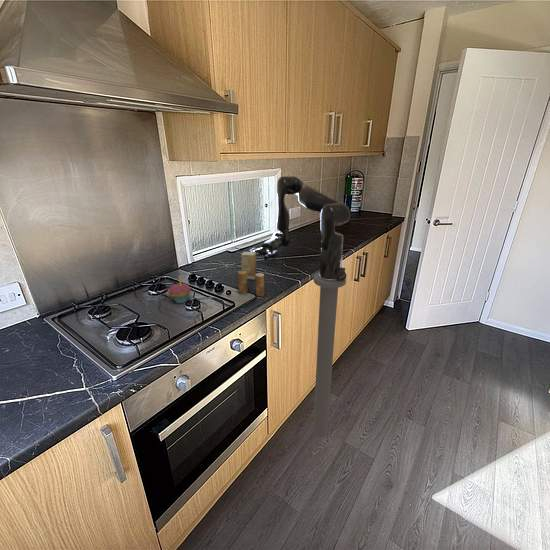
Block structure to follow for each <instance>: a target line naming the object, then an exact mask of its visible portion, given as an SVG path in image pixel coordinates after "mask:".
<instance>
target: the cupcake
mask: <svg viewBox="0 0 550 550" xmlns="http://www.w3.org/2000/svg"><path fill="white" fill-rule="evenodd" d="M178 278H179V279H178V280H179V283H178V282H177V283H174V284H173V285H171V286H169V288H168V290H167V293H168V295H169V296H170V297H171V298H173V299H174V302H175V303H177V304H184V303H186V302H187V301H188V300H189V296H190V293H191V291H192V289H191V287H190V285H188V283H187V284H186V283H182V276H181V275H179V276H178Z"/></svg>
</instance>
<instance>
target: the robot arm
mask: <svg viewBox="0 0 550 550" xmlns="http://www.w3.org/2000/svg"><path fill="white" fill-rule="evenodd" d="M276 195H277V196H276V201H277V204H276V205H277V218H276V230H277V231H276V232H274V233H273V234H272V237H271V238H270V239H268V240H266V241H264V243H262V244H261V245H260V247H259V248H256V247H251V248H250V249H248V251H247V252H256V257H260V256H263V260H264V261H267V260H269V259H276V257H277V256H278V250H279V249H280V248H281V247H288V246H289V245H290V242H291V235H290V229H289V227H290V221H291V220H290V219H291V215H290V211H289V209H288V208H287V205H286V202H285V200H286V199H285V198H286V196H289V195H296V196H297V199H298V202H299V204H300V205H302V206H303V207H305V209H307V210H310V211H312V212H317V213H320V218H319V219H320V237H321V241H320V242H321V245H320V261H319V262H320V263H319V272H320V278H321V279H323V280H326V281H339V279H340V277H343V276H344V275H345V276H344V277H343V278H342V279H341V280H344V279H345V278H346V279H347V273H346V267H343V260H344V259H343V249H344V245H343V244H344V234H343V233H340V232H337V231H336V230H335V228H336V227H337V226H343V225H345V224H347V223H348V222H349V221H350V219H351V211H350V208H349V206H348V205H347V204H345V203H344V202H341V201H338V200H336V199H333V198H331V197H329V196H328V195H326V194H324V193H322V192H321V191H320V190H317V189H315V188H313V187H311V186H310V185H308V184H306V183H305V182H303V181H302V180H301V179H300V178H299V177H297V176H295V175H288V176H287V175H286V176H280V177H279V178H278V180H277V184H276Z"/></svg>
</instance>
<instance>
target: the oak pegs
mask: <svg viewBox="0 0 550 550" xmlns="http://www.w3.org/2000/svg"><path fill="white" fill-rule="evenodd" d="M237 280H238V292H239V293H240V294H246V293H248V292H249V291H248V290H249V289H248V279H247V272H246V271H242V270H238V271H237ZM254 280H255V295H256V297H264V296H265V294H266V290H265V287H266V286H265V274H264V273H263V272H256V274H255V279H254Z"/></svg>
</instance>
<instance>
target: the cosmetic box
mask: <svg viewBox="0 0 550 550" xmlns="http://www.w3.org/2000/svg"><path fill="white" fill-rule="evenodd" d="M240 257H241V258H240V260H241V271H246V272H247V280H255V274H257V256H256V252H248V251H242V252H241V254H240Z"/></svg>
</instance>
